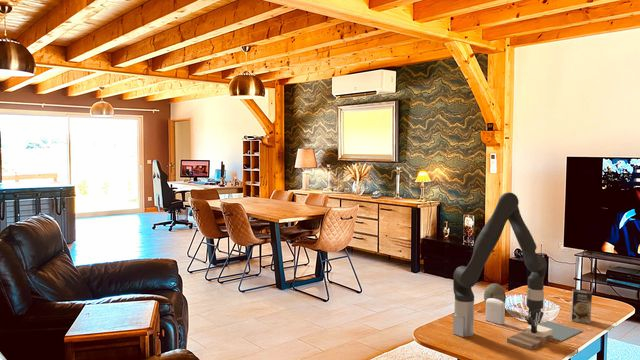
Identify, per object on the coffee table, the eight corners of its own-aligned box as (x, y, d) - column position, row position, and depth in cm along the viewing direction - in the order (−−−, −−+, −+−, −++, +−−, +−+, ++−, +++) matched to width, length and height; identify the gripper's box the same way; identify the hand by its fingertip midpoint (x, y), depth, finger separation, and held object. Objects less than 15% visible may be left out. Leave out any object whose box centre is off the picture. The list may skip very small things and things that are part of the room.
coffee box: (571, 321, 276) (572, 291, 275) (570, 317, 282) (572, 288, 281) (590, 323, 273) (592, 293, 271) (589, 320, 278) (590, 290, 277)
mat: (560, 341, 248) (560, 340, 248) (523, 330, 263) (523, 329, 263) (582, 331, 262) (582, 330, 262) (546, 321, 277) (546, 320, 276)
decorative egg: (502, 314, 287) (503, 287, 286) (481, 310, 293) (481, 284, 292) (507, 308, 297) (508, 282, 296) (486, 304, 303) (487, 279, 302)
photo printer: (483, 320, 277) (484, 297, 276) (488, 318, 280) (489, 295, 279) (501, 325, 269) (502, 302, 268) (505, 323, 272) (506, 300, 271)
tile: (543, 337, 248) (543, 332, 247) (525, 332, 255) (526, 327, 254) (552, 334, 252) (552, 329, 252) (534, 328, 259) (534, 323, 259)
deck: (530, 350, 238) (530, 346, 238) (506, 342, 247) (507, 338, 247) (552, 340, 250) (552, 335, 250) (529, 332, 260) (529, 328, 259)
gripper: (534, 302, 241) (533, 338, 243) (549, 296, 250) (548, 332, 251) (520, 298, 247) (519, 333, 249) (535, 293, 255) (533, 327, 257)
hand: (533, 332), depth 250 cm, fingers closed
